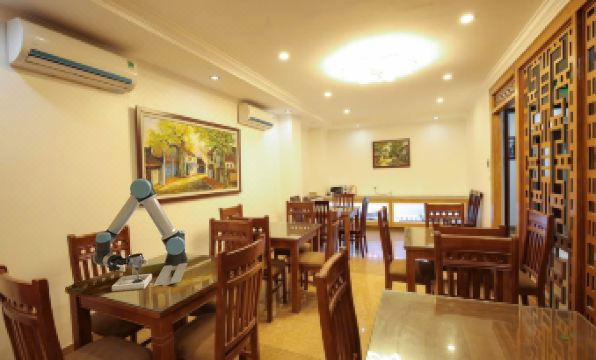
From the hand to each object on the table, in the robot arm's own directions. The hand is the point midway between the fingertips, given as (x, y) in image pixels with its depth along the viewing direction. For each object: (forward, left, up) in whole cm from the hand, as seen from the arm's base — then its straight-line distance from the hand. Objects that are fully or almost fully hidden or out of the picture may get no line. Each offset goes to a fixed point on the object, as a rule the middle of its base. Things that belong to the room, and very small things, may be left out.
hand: (136, 265), depth 166 cm
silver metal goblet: (+1, -5, -10) cm, 12 cm away
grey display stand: (-18, -2, -12) cm, 22 cm away
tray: (+2, -2, -11) cm, 12 cm away
